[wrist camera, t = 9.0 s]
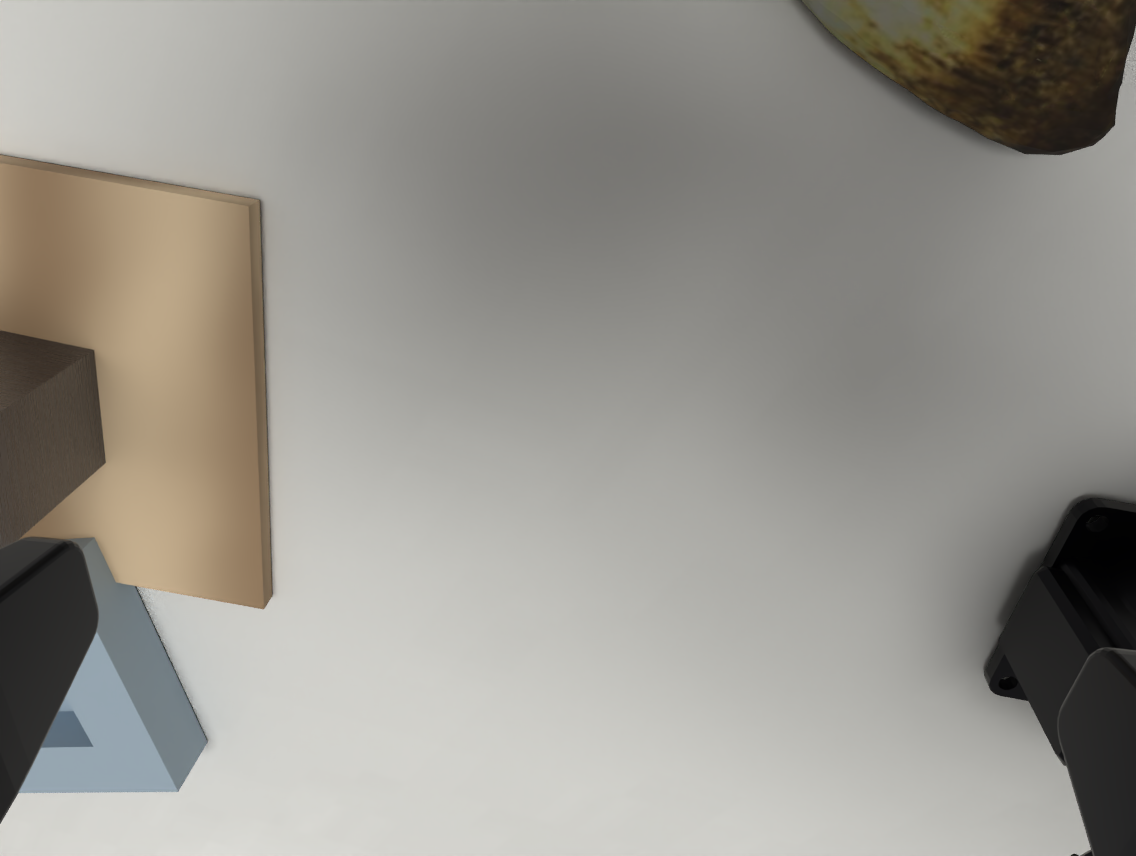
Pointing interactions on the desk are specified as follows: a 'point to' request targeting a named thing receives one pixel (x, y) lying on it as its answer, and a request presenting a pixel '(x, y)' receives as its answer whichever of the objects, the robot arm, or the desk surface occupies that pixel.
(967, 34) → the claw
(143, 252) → the tan metal pad
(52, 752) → the square socket block
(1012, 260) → the desk surface
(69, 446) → the grey hook block
